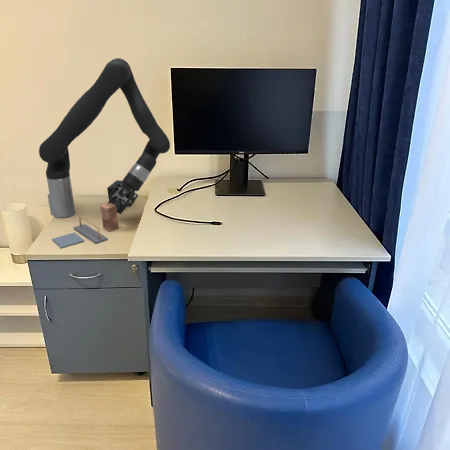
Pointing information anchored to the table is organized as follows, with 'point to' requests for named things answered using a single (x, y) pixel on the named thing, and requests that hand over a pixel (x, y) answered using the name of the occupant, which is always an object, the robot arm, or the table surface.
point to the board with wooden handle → (90, 232)
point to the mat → (68, 240)
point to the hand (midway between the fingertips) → (113, 209)
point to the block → (109, 217)
